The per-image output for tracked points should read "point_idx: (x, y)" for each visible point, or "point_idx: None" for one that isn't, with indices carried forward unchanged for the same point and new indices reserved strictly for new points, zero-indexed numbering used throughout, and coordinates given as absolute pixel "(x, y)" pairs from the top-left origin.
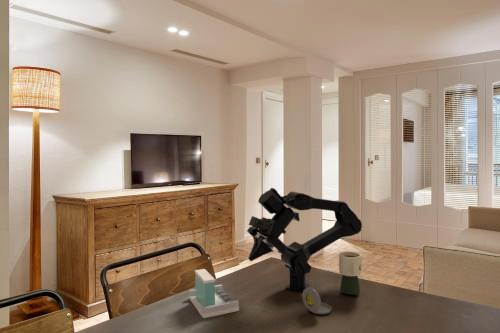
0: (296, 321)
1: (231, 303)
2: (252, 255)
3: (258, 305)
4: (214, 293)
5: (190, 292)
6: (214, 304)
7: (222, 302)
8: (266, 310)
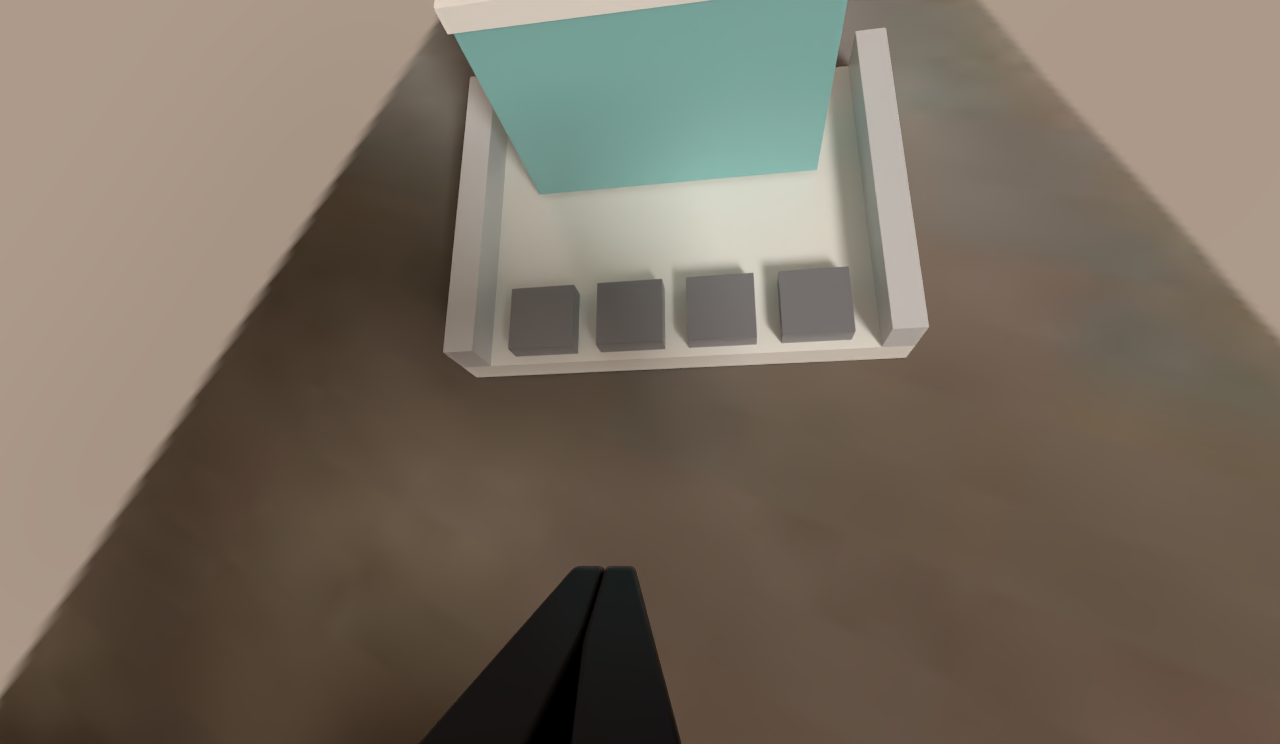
0: (88, 727)
1: (451, 288)
2: (501, 650)
3: (484, 572)
4: (499, 116)
5: (853, 44)
6: (533, 177)
7: (605, 271)
8: (367, 592)
